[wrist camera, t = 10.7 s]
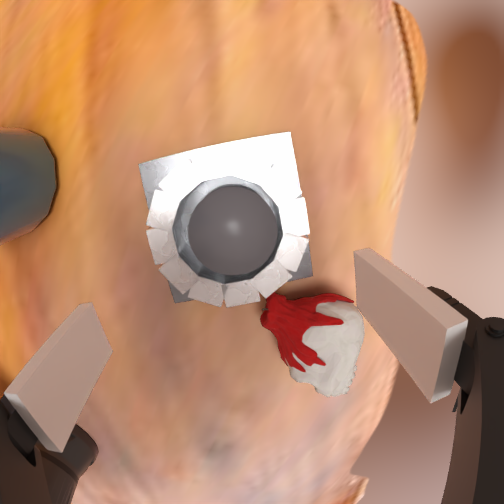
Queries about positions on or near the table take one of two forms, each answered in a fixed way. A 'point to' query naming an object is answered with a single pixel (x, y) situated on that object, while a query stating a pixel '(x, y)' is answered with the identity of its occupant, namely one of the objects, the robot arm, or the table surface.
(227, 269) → the cap
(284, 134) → the square flange collar
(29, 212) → the wine bottle
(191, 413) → the table surface
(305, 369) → the candle
